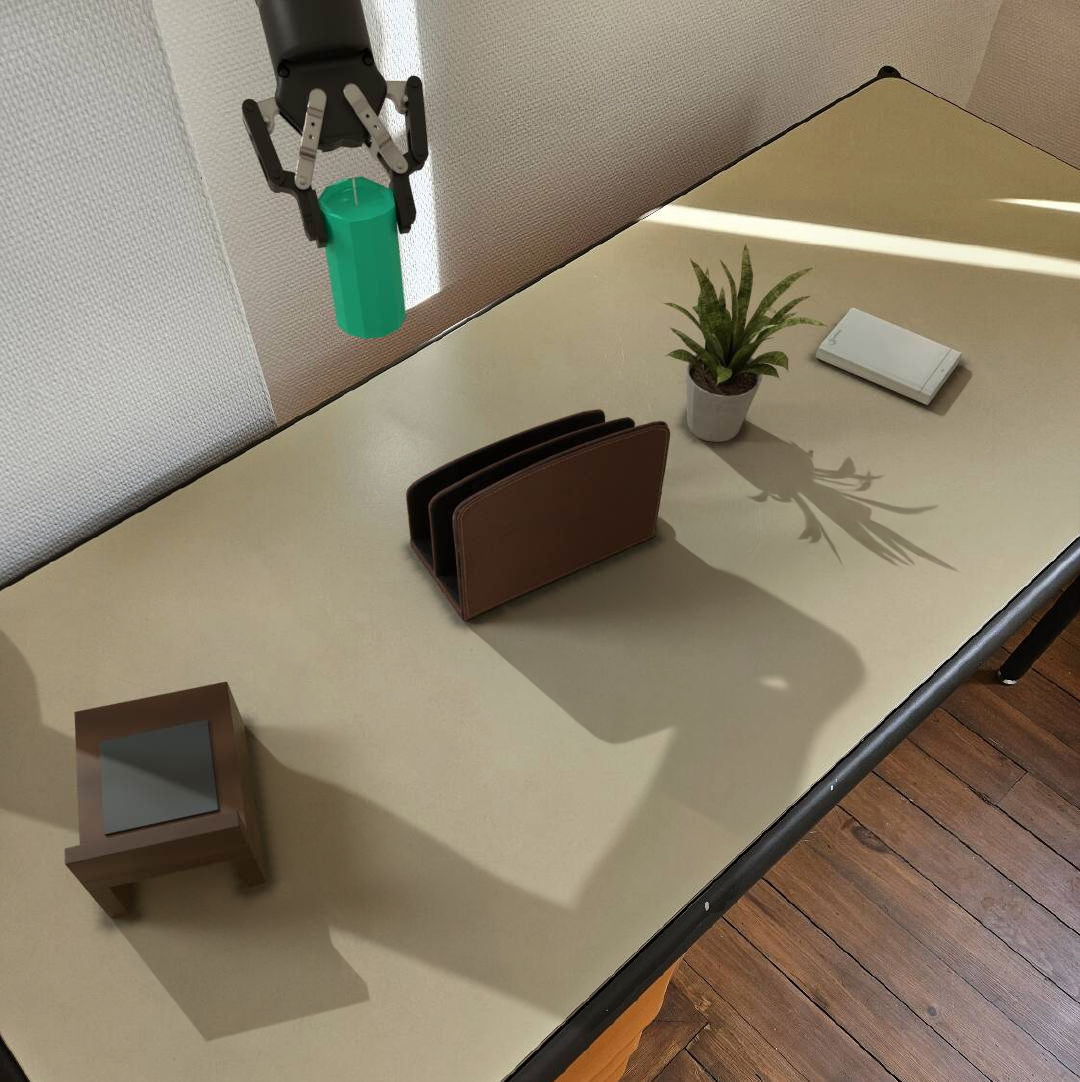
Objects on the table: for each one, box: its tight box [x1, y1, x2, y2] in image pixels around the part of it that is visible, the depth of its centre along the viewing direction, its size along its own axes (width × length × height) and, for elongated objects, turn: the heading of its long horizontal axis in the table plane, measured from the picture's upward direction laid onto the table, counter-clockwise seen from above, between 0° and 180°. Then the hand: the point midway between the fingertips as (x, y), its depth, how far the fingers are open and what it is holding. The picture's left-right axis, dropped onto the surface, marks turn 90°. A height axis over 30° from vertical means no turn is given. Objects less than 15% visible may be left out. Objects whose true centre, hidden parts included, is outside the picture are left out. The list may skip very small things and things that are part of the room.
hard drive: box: [814, 307, 963, 406], centre depth 108 cm, size 2×8×12 cm
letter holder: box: [405, 408, 671, 621], centre depth 89 cm, size 10×20×14 cm, turn 121°
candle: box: [317, 176, 407, 340], centre depth 85 cm, size 6×6×12 cm
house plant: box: [663, 243, 829, 443], centre depth 97 cm, size 14×14×16 cm
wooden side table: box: [63, 680, 267, 919], centre depth 75 cm, size 14×11×9 cm
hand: (364, 237), depth 82 cm, fingers closed on candle, 6 cm apart
